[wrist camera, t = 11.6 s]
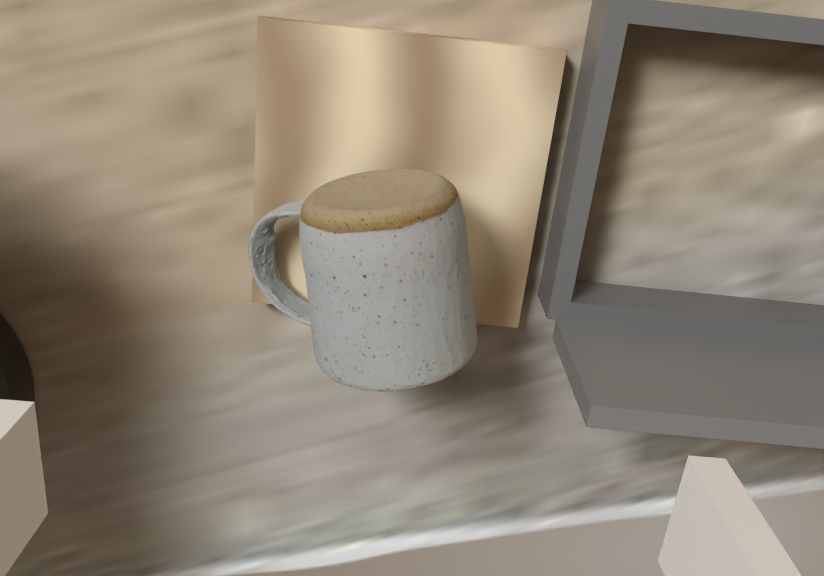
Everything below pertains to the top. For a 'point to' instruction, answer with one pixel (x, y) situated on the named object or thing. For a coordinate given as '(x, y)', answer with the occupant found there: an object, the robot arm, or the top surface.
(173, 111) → the top surface
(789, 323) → the case
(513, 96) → the beige square panel
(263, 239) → the ceramic mug
